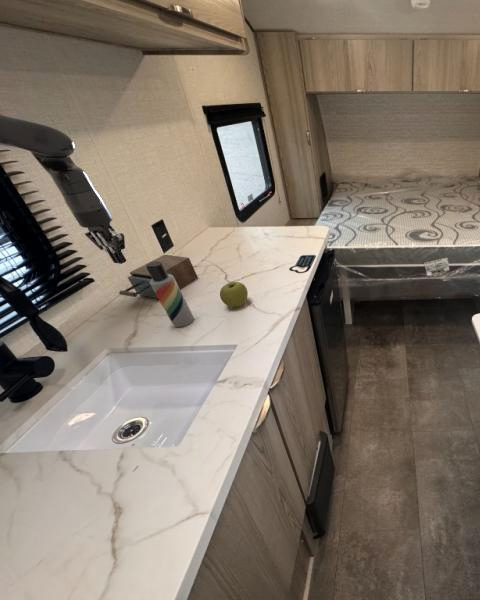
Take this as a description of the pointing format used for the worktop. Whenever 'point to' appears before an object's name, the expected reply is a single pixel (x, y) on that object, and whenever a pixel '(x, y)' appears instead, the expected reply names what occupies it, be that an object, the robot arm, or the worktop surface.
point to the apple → (234, 294)
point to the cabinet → (172, 269)
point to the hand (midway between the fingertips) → (120, 262)
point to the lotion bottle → (169, 295)
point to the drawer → (139, 287)
